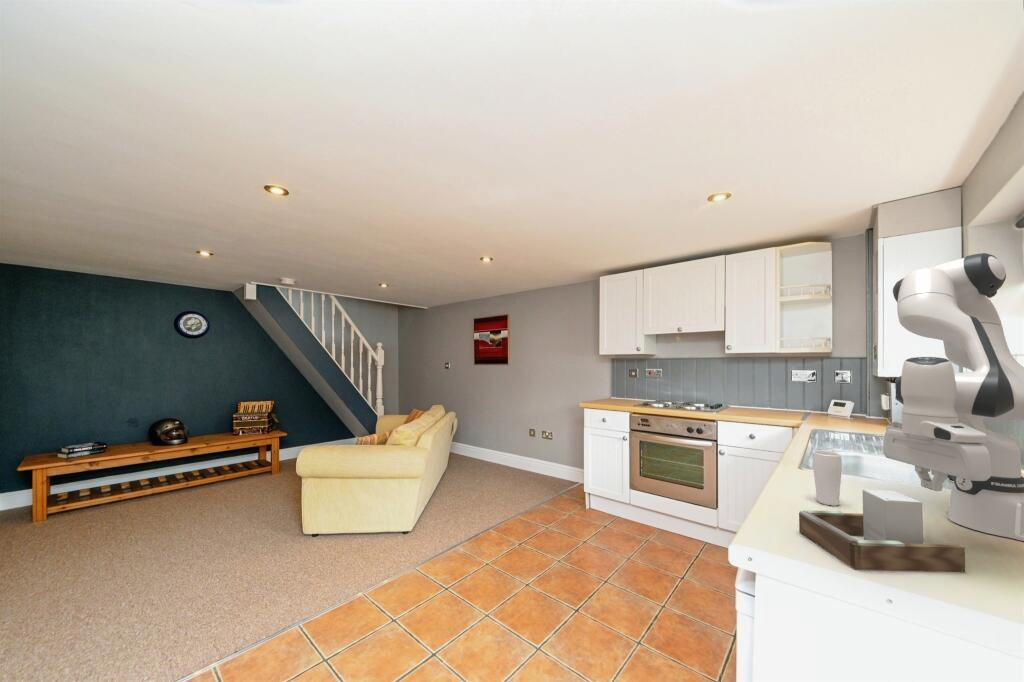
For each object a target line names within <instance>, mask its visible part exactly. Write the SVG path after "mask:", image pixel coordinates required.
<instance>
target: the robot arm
mask: <svg viewBox="0 0 1024 682" xmlns="http://www.w3.org/2000/svg"><path fill="white" fill-rule="evenodd" d="M1006 279H1007V273H1006V267H1005V265H1004V264H1003V263H1002V261H1001V260H999V258H997V257H996V256H995V255H994V254H993V255H992V254H991V253H987V252H986V253H985V252H984V253H983V252H982V253H976V254H975V253H974V254H970V255H967V256H966V255H965V256H964V257H961V258H958V259H954V260H950V261H946V262H943V263H940V264H937V265H934V266H932V267H925V268H923V267H922V268H919V269H915V270H912V271H911V272H909V273H908V274H907V275H905V276H904V277H903V278H900V280H898V281H896V283H895V284H894V286H893V288H892V294H893V297H894V299H895V301H896V303H897V305H896V307H897V309H896V311H897V317H898V322H899V324H900V326H902V327H903V328H904V329H905V330H906V331H908V332H910V333H912V334H914V335H916V336H920V337H923V338H928V339H935V340H939V341H942V342H943V348H944V354H945V356H946V358H944V357H936V356H917V357H910V358H907V359H905V360H904V361H903V364H902V370H901V375H900V376H899V377H897V378H896V379H894V384H895V385H894V386H895V400H896V401H897V402H899V403H900V404H902V405H903V406H902V408H901V422H897V421H892V422H891V423H888V425H886V427H885V432H884V435H883V443H882V453H883V455H884V457H885V458H886V459H889V460H892V461H898V462H900V463H904V464H908V465H911V466H914V471H915V473H916V475H917V476H918V477H919V479H920V486H921V487H922V488H926V489H928V490H932V491H934V492H941V491H943V484H944V483H945V481H946V480H947V478H948V476H951V480H952V481H953V482H954V483H953V484H952V485H951V492H950V493H951V494H950V499H949V506H948V507H947V508H946V512H947V514H946V518H947V519H948V520H949V521H951V522H953V523H955V524H957V525H960V526H963V527H966V528H968V529H971V530H973V531H974V530H975V531H979V532H982V533H986V534H990V535H994V536H997V537H998V536H999V537H1005V538H1009V539H1015V540H1018V541H1021V542H1022V541H1023V542H1024V477H1023V476H1022V455H1021V448H1020V447H1019V445H1018V444H1017V443H1016V442H1015V441H1014V440H1013V439H1011V438H1009V437H1007V436H1004V435H1003V434H1001V433H997V432H995V431H992V430H990V429H988V428H986V426H985V424H984V420H986V419H987V420H1001V421H1002V420H1003V421H1016V422H1019V421H1020V422H1024V366H1022V365H1021V364H1020V363H1019V362H1018V360H1017V359H1015V357H1014V356H1013V355H1012V353H1011V351H1010V349H1009V346H1008V343H1007V340H1006V336H1005V332H1004V327H1003V325H1002V321H1001V318H1000V316H999V315H1000V314H999V313H998V311H997V309H996V307H995V305H994V304H993V302H992V301H991V298H993V297H996V295H997V293H998V290H999V289H1001V288H1002V287H1003V285H1004V283H1005V281H1006ZM952 363H953V364H954V365H957V366H958V367H962V368H964V369H968V370H970V372H969V371H967V372H959V371H958V372H955V370H954V367H953V364H952ZM930 472H931V475H932V476H933V477H931V476H930V474H929V473H930Z"/></svg>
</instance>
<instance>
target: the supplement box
mask: <svg viewBox="0 0 1024 682" xmlns="http://www.w3.org/2000/svg"><path fill="white" fill-rule="evenodd" d="M861 491H862V514H863V525H864V536H863V540H884V541H900V542H902V543H904V544H924V526H923V520H924V519H923V502H922V501H919V500H917V499H915V498H912V497H910V496H907V495H906V494H903V493H901V492H899V491H897V490H883V489H882V490H881V489H879V490H878V489H877V490H876V489H862V490H861Z"/></svg>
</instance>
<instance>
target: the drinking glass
mask: <svg viewBox="0 0 1024 682" xmlns="http://www.w3.org/2000/svg"><path fill="white" fill-rule="evenodd" d="M812 469H813V470H812V471H813V477H814V485H815V496H816V497H815V499H816V501H817V502H818V503H819V504H822V505H824V506H825V505H826V506H829V505H831V507H838V506H839V505H840V497H841V495H840V494H841V483H842V472H843V470H842V469H843V465H842V455H841V454H840V453H838V452H835V451H830V450H820V449H819V450H813V451H812Z"/></svg>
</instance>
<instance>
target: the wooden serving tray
mask: <svg viewBox="0 0 1024 682" xmlns="http://www.w3.org/2000/svg"><path fill="white" fill-rule="evenodd" d="M798 522H799V523H798V525H799V526H798V529H799V530H798V531H799V534H801V535H802V536H804V537H805V538H807V539H809V540H810V541H811V542H813V543H814V544H816V545H817V546H819V547H820V548H822V549H824V550H825V551H827V552H828V553H829V554H832V556H834V557H836V559H837V558H838V559H839V560H840V561H842V562H843V563H845V564H847V565H848V566H849V567H851V568H852V569H854V570H855V571H856V570H858V571H860V570H861V571H862V570H864V571H899V572H900V571H901V572H904V571H905V572H942V573H943V572H944V573H966V572H967V571H966V547H964V546H962V545H960V544H947V543H945V544H942V543H923V544H904V543H902V542H900V541H884V540H864V539H857V538H855V537H864V525H863V513H855V512H854V513H853V512H852V513H851V512H849V513H848V512H847V513H846V512H843V511H841V510H809V509H808V510H807V509H806V510H799V512H798Z"/></svg>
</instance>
